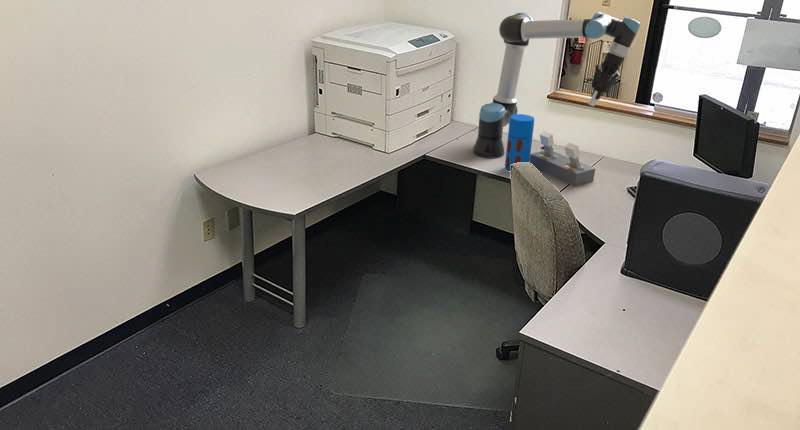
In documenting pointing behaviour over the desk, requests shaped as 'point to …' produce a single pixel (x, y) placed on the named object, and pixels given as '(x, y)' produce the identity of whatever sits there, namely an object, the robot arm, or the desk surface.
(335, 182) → the desk surface
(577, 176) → the switch box
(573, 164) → the outer lever
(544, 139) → the inner lever
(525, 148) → the thermos
